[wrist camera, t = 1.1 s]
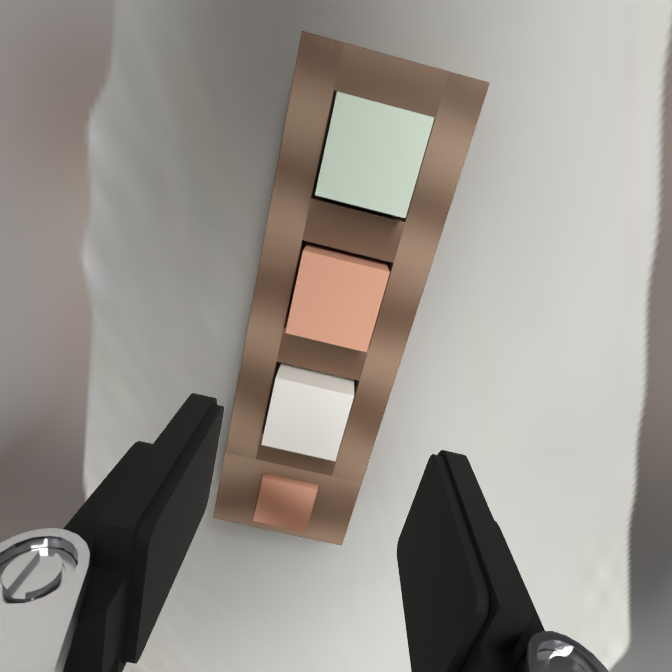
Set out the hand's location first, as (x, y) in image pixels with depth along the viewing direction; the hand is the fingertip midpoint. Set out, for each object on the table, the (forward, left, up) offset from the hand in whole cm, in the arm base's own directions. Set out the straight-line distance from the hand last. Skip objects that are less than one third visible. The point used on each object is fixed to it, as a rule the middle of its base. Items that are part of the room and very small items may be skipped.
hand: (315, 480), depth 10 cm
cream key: (+8, 0, -19) cm, 21 cm away
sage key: (-8, 0, -19) cm, 21 cm away
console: (+3, 0, -21) cm, 22 cm away
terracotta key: (0, 0, -19) cm, 19 cm away
